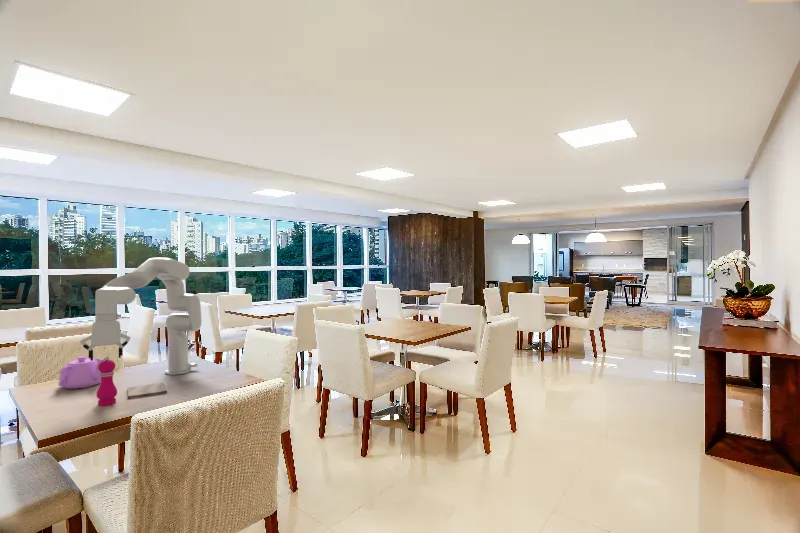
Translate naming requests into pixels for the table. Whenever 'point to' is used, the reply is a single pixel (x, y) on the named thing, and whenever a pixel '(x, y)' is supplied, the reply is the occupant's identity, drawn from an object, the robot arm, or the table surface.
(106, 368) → the pepper mill
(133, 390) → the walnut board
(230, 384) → the table surface
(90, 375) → the teapot
